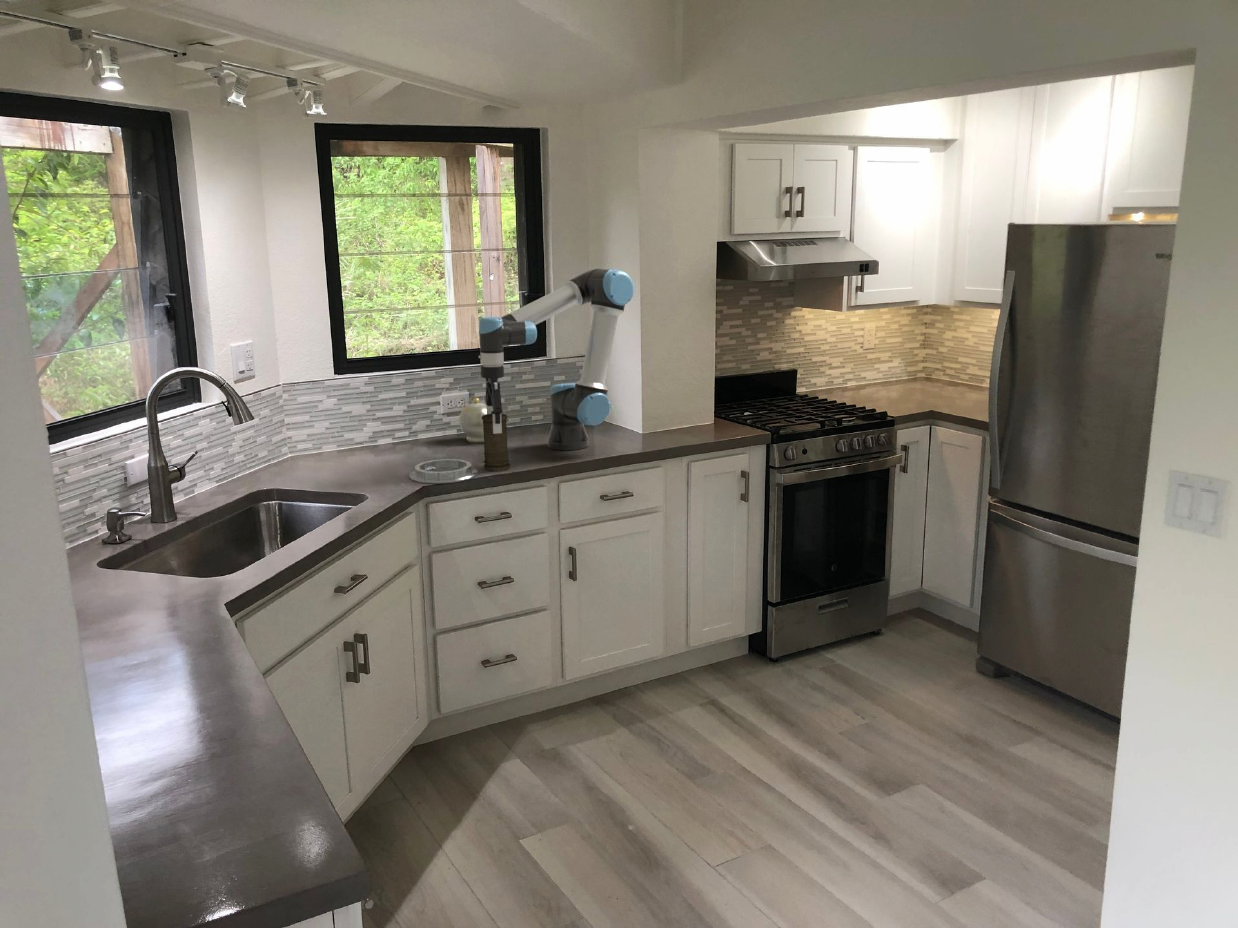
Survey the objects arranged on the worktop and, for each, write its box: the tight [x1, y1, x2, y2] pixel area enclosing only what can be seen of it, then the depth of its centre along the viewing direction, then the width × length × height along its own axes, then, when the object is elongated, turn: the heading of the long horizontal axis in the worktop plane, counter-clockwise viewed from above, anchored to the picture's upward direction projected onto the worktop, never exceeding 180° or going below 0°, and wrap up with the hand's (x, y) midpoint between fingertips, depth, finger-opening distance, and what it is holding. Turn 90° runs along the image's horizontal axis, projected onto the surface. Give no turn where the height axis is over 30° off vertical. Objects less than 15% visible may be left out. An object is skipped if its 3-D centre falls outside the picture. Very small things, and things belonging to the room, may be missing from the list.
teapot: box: [458, 397, 487, 444], centre depth 362 cm, size 18×14×16 cm
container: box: [482, 413, 511, 472], centre depth 322 cm, size 9×9×18 cm
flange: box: [409, 458, 479, 485], centre depth 316 cm, size 22×22×3 cm
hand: (494, 429), depth 321 cm, fingers open, 13 cm apart
